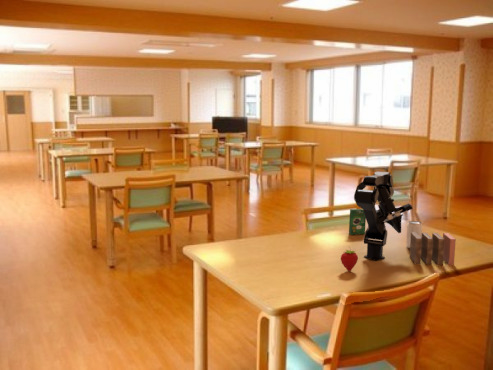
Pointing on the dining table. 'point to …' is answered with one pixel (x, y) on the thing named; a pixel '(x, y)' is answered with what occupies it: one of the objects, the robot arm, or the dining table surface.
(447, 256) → the tile
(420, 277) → the dining table surface
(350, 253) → the strawberry
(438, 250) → the tile
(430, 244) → the tile
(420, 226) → the can
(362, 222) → the coffee box
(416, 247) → the tile
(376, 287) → the dining table surface
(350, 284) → the dining table surface
